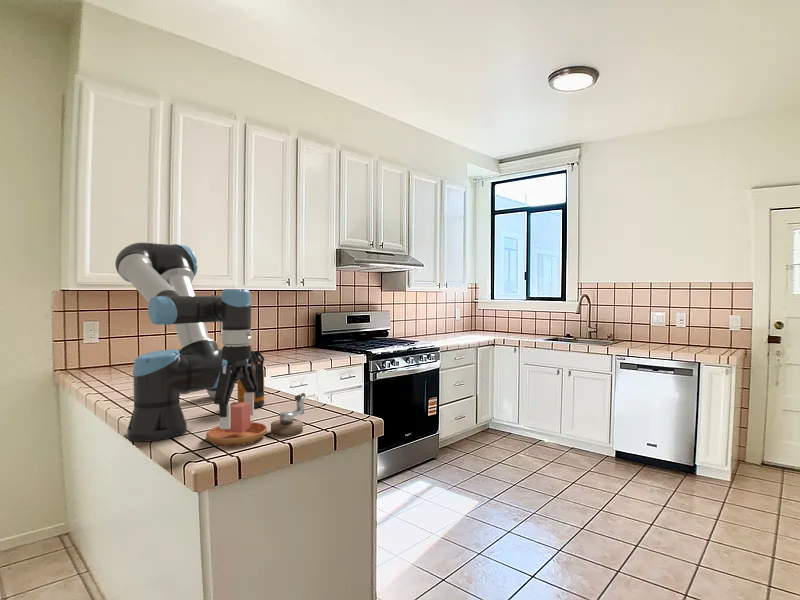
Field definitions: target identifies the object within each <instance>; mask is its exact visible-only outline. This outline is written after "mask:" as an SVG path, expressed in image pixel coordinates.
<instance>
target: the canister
mask: <svg viewBox="0 0 800 600" xmlns="http://www.w3.org/2000/svg"><path fill="white" fill-rule="evenodd" d="M250 359H252V362H253V369H254V373H255V377H256V381H257V384H258V387H257V389H258V390H257V392H253V393H254V407H257V408H260V407H261V406H264V405H265V370H264V361H265V357H264V356H263V354H262V353H261V351H259V350H258V349H257V350H256V351H255V350H251V358H250ZM236 383H237V402H244V393H245V392H246V391H245V389H244V387H243V385H242V383H241V381H240V379H238V381H237V382H236ZM253 384H254V383H253ZM259 406H260V407H259Z"/></svg>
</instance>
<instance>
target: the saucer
mask: <svg viewBox="0 0 800 600" xmlns="http://www.w3.org/2000/svg"><path fill="white" fill-rule="evenodd" d="M267 431H268V427H267V425H266V424H264V423H260V422H252V421H250V428H249V429H247V430H246V431H244V432H243V433H234V432H225V429H220V426H219V425H218V426H215V427H211V429H209V430H207V431H206V433H205V436H206V439H207V440H208V442H210V443H212V444H213V445H214V444H215V445H214V446H219V447H238V446H237V445H241V446H244V445H243V444H247V445H249V444H248V443H251V444H253V443H252V442H254V443H256V442H258V441H260V440H261V439H262V438H263V437H265V435H266V434H267V433H268V432H267ZM255 441H256V442H255Z"/></svg>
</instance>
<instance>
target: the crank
mask: <svg viewBox="0 0 800 600" xmlns="http://www.w3.org/2000/svg"><path fill="white" fill-rule="evenodd" d="M305 398H306V393H304V392H302V393H299V394H298V395H295V396H294V399H295V401H296V409H294V410H292V411H283V412H280V413H279V420H280V423H281V424H290V423H293V422H294V419H295V417H297V416H298V415H299V416H300V415H304V414H305Z"/></svg>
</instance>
